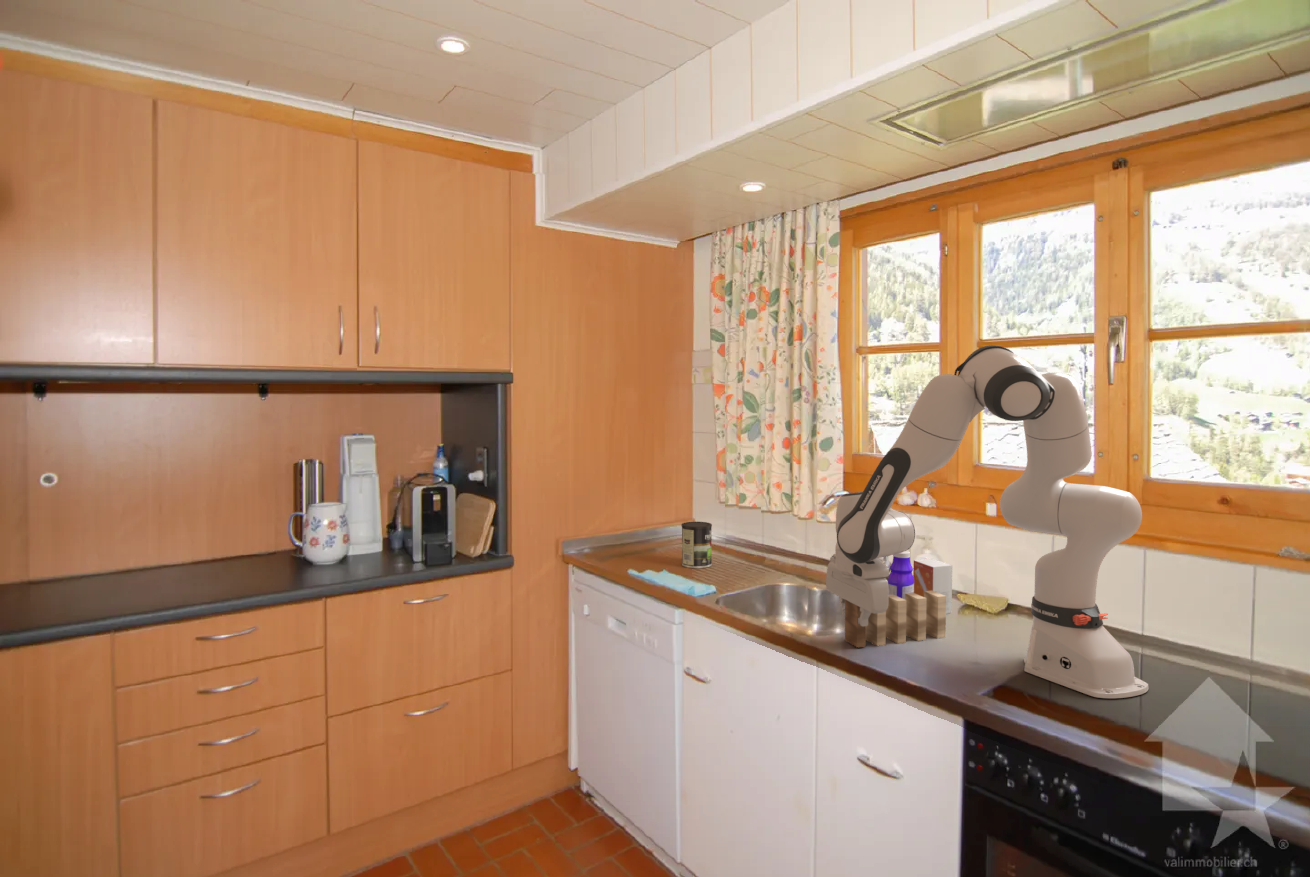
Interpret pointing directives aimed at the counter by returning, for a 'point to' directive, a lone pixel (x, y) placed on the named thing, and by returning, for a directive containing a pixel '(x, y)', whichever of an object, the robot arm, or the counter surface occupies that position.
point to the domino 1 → (854, 626)
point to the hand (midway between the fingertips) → (854, 620)
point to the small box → (933, 579)
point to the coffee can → (696, 545)
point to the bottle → (901, 575)
